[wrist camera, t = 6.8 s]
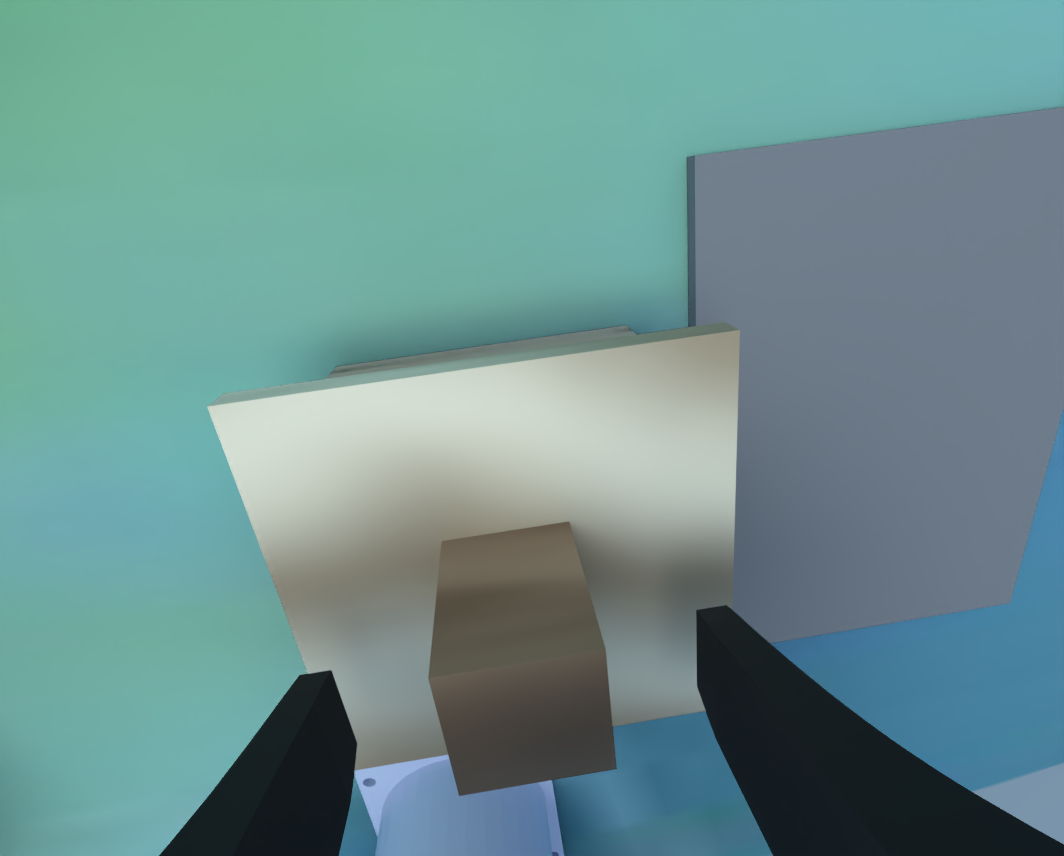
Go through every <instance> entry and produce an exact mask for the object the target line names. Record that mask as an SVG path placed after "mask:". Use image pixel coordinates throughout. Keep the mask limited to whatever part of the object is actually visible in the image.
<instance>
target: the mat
mask: <svg viewBox="0 0 1064 856" xmlns="http://www.w3.org/2000/svg"><path fill="white" fill-rule="evenodd" d="M687 186H688V282H689V327H692V326H699V325H706V324H713V323H720V322H725V323H727V324H729V325H731V326H733V327H735V328H737V329H739V330H740V348H739V385H738V421H737V458H736V494H735V531H734V567H733V604H732V610H733V611H734V612H736V613H737V614H738V615H739V616H740V617H741V618H742V619H743V620H744V621H746V622H747V623H748V624H749V625H750V626H751V627H752V628H753V629H754V630H756V631H757V632H758V633H759V634H760V635H761V636H762V637H763V638H765V639H766V640H767V641H768V642H769V643H775V642H781V641H787V640H793V639H799V638H805V637H811V636H817V635H823V634H829V633H835V632H841V631H847V630H853V629H859V628H865V627H871V626H876V625H882V624H888V623H894V622H900V621H906V620H912V619H918V618H924V617H930V616H936V615H942V614H948V613H954V612H960V611H966V610H972V609H978V608H984V607H990V606H996V605H1002V604H1008V603H1010V602H1011V598H1012V594H1013V591H1014V587H1015V583H1016V580H1017V576H1018V572H1019V569H1020V565H1021V561H1022V558H1023V554H1024V551H1025V547H1026V543H1027V540H1028V536H1029V532H1030V529H1031V525H1032V521H1033V518H1034V514H1035V511H1036V507H1037V503H1038V500H1039V496H1040V492H1041V489H1042V485H1043V481H1044V478H1045V474H1046V470H1047V467H1048V463H1049V460H1050V456H1051V452H1052V449H1053V445H1054V441H1055V438H1056V434H1057V430H1058V427H1059V423H1060V420H1061V416H1062V412H1063V409H1064V107H1061V108H1053V109H1046V110H1038V111H1031V112H1023V113H1015V114H1008V115H1000V116H993V117H985V118H978V119H970V120H962V121H955V122H947V123H940V124H932V125H925V126H917V127H909V128H902V129H894V130H887V131H879V132H872V133H864V134H856V135H849V136H841V137H834V138H826V139H819V140H811V141H803V142H796V143H788V144H781V145H773V146H766V147H758V148H751V149H743V150H735V151H728V152H720V153H713V154H705V155H698V156H691V157H687Z"/></svg>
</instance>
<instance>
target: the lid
mask: <svg viewBox="0 0 1064 856" xmlns="http://www.w3.org/2000/svg"><path fill="white" fill-rule="evenodd" d="M739 348H740V330H739V329H737V328H735V327H733V326H731V325H729V324H727V323H725V322H720V323H713V324H706V325H699V326H692V327H685V328H678V329H671V330H664V331H657V332H650V333H643V334H636V335H629V336H622V337H616V338H609V339H602V340H595V341H588V342H581V343H574V344H567V345H560V346H553V347H546V348H539V349H532V350H525V351H518V352H511V353H504V354H497V355H490V356H483V357H476V358H469V359H462V360H455V361H448V362H441V363H434V364H427V365H420V366H413V367H406V368H399V369H392V370H385V371H378V372H371V373H364V374H357V375H350V376H343V377H336V378H329V379H322V380H315V381H308V382H301V383H294V384H287V385H280V386H273V387H266V388H259V389H252V390H245V391H238V392H231V393H224V394H223V395H221V396H220V397H219V398H217V399H216V400H215V401H214V402H212V403H211V404H210V405H209V406H207V407H208V410H209V413H210V415H211V418H212V421H213V423H214V426H215V428H216V431H217V434H218V436H219V439H220V442H221V444H222V447H223V450H224V452H225V455H226V458H227V460H228V463H229V466H230V468H231V471H232V474H233V476H234V479H235V482H236V484H237V487H238V490H239V492H240V495H241V497H242V500H243V503H244V505H245V508H246V511H247V513H248V516H249V519H250V521H251V524H252V527H253V529H254V532H255V535H256V537H257V540H258V543H259V545H260V548H261V551H262V553H263V556H264V559H265V561H266V564H267V566H268V569H269V572H270V574H271V577H272V580H273V582H274V585H275V588H276V590H277V593H278V596H279V598H280V601H281V604H282V606H283V609H284V612H285V614H286V617H287V620H288V622H289V625H290V628H291V630H292V633H293V635H294V638H295V641H296V643H297V646H298V649H299V651H300V654H301V657H302V659H303V662H304V665H305V667H306V670H307V673H308V674H310V673H316V672H322V671H328V670H332V673H333V676H334V679H335V682H336V685H337V687H338V690H339V693H340V696H341V699H342V702H343V704H344V707H345V710H346V713H347V716H348V719H349V721H350V724H351V727H352V730H353V733H354V735H355V738H356V741H357V752H356V761H355V770H361V769H367V768H373V767H379V766H385V765H391V764H396V763H402V762H408V761H414V760H420V759H426V758H432V757H437V756H443V755H448V756H449V759H450V763H451V767H452V771H453V775H454V778H455V782H456V786H457V790H458V794H459V796H463V795H469V794H475V793H480V792H486V791H492V790H498V789H503V788H509V787H515V786H521V785H527V784H532V783H538V782H544V781H550V780H555V779H561V778H567V777H573V776H578V775H584V774H590V773H596V772H601V771H607V770H613V769H616V758H615V747H614V736H613V726H619V725H625V724H631V723H637V722H643V721H649V720H654V719H660V718H666V717H672V716H678V715H684V714H690V713H695V712H701V711H706V710H705V707H704V705H703V702H702V699H701V696H700V693H699V691H698V688H697V635H696V610H699V609H705V608H711V607H717V606H724V605H727V606H728V607H730V608H731V609H732V604H733V567H734V531H735V494H736V458H737V421H738V385H739Z"/></svg>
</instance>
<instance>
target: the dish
mask: <svg viewBox="0 0 1064 856" xmlns="http://www.w3.org/2000/svg"><path fill="white" fill-rule="evenodd" d="M629 335H636V333H634V332H633V331H632V330H631V329H630V328H629V327H628V326H626V325H624V326H617V327H610V328H603V329H596V330H589V331H582V332H575V333H568V334H561V335H554V336H547V337H540V338H533V339H526V340H519V341H512V342H505V343H498V344H491V345H484V346H477V347H470V348H463V349H456V350H449V351H442V352H435V353H428V354H421V355H414V356H407V357H400V358H393V359H386V360H379V361H372V362H365V363H358V364H351V365H344V366H337V367H335V368H334V370H333V371H332V372H331V373H330V375H329V376H328V377H327V378H326V379H329V378H336V377H343V376H350V375H357V374H364V373H371V372H378V371H385V370H392V369H399V368H406V367H413V366H420V365H427V364H434V363H441V362H448V361H455V360H462V359H469V358H476V357H483V356H490V355H497V354H504V353H511V352H518V351H525V350H532V349H539V348H546V347H553V346H560V345H567V344H574V343H581V342H588V341H595V340H602V339H609V338H616V337H622V336H629Z"/></svg>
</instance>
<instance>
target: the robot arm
mask: <svg viewBox="0 0 1064 856" xmlns="http://www.w3.org/2000/svg"><path fill="white" fill-rule="evenodd" d="M696 635H697V688H698V691H699V693H700V696H701V699H702V702H703V705H704V707H705V710H706V713H707V716H708V718H709V721H710V724H711V726H712V729H713V732H714V734H715V737H716V740H717V742H718V744H719V746H720V748H721V750H722V752H723V754H724V756H725V758H726V760H727V762H728V764H729V767H730V769H731V771H732V773H733V775H734V777H735V779H736V781H737V783H738V785H739V787H740V789H741V791H742V793H743V795H744V797H745V799H746V801H747V803H748V805H749V807H750V809H751V811H752V813H753V815H754V817H755V819H756V822H757V824H758V826H759V828H760V830H761V832H762V834H763V836H764V838H765V840H766V842H767V844H768V846H769V848H770V850H771V852H772V854H773V856H1064V845H1063V844H1062V843H1060V842H1058V841H1056V840H1055V839H1053V838H1051V837H1049V836H1047V835H1045V834H1044V833H1042V832H1040V831H1038V830H1036V829H1034V828H1033V827H1031V826H1029V825H1028V824H1026V823H1024V822H1023V821H1021V820H1019V819H1017V818H1016V817H1014V816H1012V815H1011V814H1009V813H1007V812H1005V811H1004V810H1002V809H1000V808H998V807H997V806H995V805H993V804H992V803H990V802H988V801H986V800H985V799H983V798H981V797H979V796H978V795H976V794H974V793H973V792H971V791H969V790H968V789H966V788H964V787H963V786H961V785H960V784H958V783H956V782H955V781H953V780H952V779H950V778H948V777H947V776H945V775H944V774H942V773H940V772H939V771H937V770H936V769H934V768H933V767H931V766H930V765H928V764H927V763H925V762H924V761H922V760H921V759H919V758H918V757H916V756H915V755H913V754H912V753H910V752H909V751H907V750H906V749H904V748H903V747H901V746H900V745H898V744H897V743H896V742H894V741H893V740H891V739H890V738H889V737H887V736H886V735H884V734H883V733H882V732H880V731H879V730H877V729H876V728H875V727H873V726H872V725H871V724H869V723H868V722H867V721H865V720H864V719H863V718H861V717H860V716H859V715H857V714H856V713H855V712H853V711H852V710H851V709H849V708H848V707H847V706H845V705H844V704H843V703H841V702H840V701H839V700H838V699H836V698H835V697H834V696H832V695H831V694H830V693H829V692H827V691H826V690H825V689H824V688H822V687H821V686H820V685H819V684H818V683H816V682H815V681H814V680H813V679H811V678H810V677H809V676H808V675H807V674H805V673H804V672H803V671H802V670H801V669H799V668H798V667H797V666H796V665H794V664H793V663H792V662H791V661H790V660H789V659H787V658H786V657H785V656H784V655H783V654H782V653H780V652H779V651H778V650H777V649H776V648H775V647H774V646H772V645H771V644H770V643H769V642H768V641H767V640H766V639H765V638H763V637H762V636H761V635H760V634H759V633H758V632H757V631H756V630H754V629H753V628H752V627H751V626H750V625H749V624H748V623H747V622H746V621H744V620H743V619H742V618H741V617H740V616H739V615H738V614H737V613H736V612H734V611H733V610H732V609H731V608H730V607H728V606H727V605H724V606H717V607H711V608H705V609H699V610H696ZM356 752H357V741H356V738H355V735H354V733H353V730H352V727H351V724H350V721H349V719H348V716H347V713H346V710H345V707H344V704H343V702H342V699H341V696H340V693H339V690H338V687H337V685H336V682H335V679H334V676H333V673H332V670H328V671H322V672H316V673H310V674H304V675H300V676H299V677H298V678H297V679H296V681H295V682H294V683H293V685H292V686H291V687H290V689H289V690H288V691H287V693H286V694H285V695H284V697H283V698H282V699H281V701H280V702H279V703H278V705H277V706H276V707H275V709H274V710H273V712H272V713H271V714H270V716H269V717H268V718H267V720H266V721H265V722H264V724H263V725H262V727H261V728H260V729H259V731H258V732H257V733H256V735H255V736H254V737H253V739H252V740H251V741H250V743H249V744H248V745H247V747H246V748H245V749H244V751H243V752H242V753H241V755H240V756H239V757H238V759H237V760H236V761H235V762H234V764H233V765H232V766H231V768H230V769H229V770H228V772H227V773H226V774H225V776H224V777H223V778H222V779H221V781H220V782H219V783H218V785H217V786H216V787H215V789H214V790H213V791H212V792H211V794H210V795H209V796H208V797H207V799H206V800H205V801H204V802H203V803H202V805H201V806H200V807H199V808H198V810H197V811H196V812H195V813H194V814H193V816H192V817H191V818H190V819H189V821H188V822H187V823H186V824H185V825H184V827H183V828H182V829H181V830H180V831H179V833H178V834H177V835H176V836H175V838H174V839H173V840H172V841H171V842H170V844H169V845H168V846H167V847H166V848H165V849H164V851H163V852H162V853H161V854H160V855H159V856H339V851H340V847H341V842H342V838H343V834H344V829H345V825H346V820H347V816H348V811H349V807H350V802H351V795H352V787H353V779H354V773H355V778H356V780H357V783H358V786H359V788H360V791H361V794H362V797H363V799H364V802H365V805H366V807H367V810H368V813H369V816H370V818H371V821H372V824H373V826H374V829H375V832H376V835H377V837H378V840H377V847H376V854H375V856H564V851H563V844H562V838H561V832H560V826H559V820H558V813H557V807H556V801H555V795H554V789H553V782H552V780H550V781H544V782H538V783H532V784H527V785H521V786H515V787H509V788H503V789H498V790H492V791H486V792H480V793H475V794H469V795H463V796H459V794H458V790H457V786H456V782H455V778H454V775H453V771H452V767H451V763H450V759H449V756H448V755H443V756H437V757H432V758H426V759H420V760H414V761H408V762H402V763H396V764H391V765H385V766H379V767H373V768H367V769H361V770H355V761H356ZM354 771H355V772H354Z"/></svg>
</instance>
